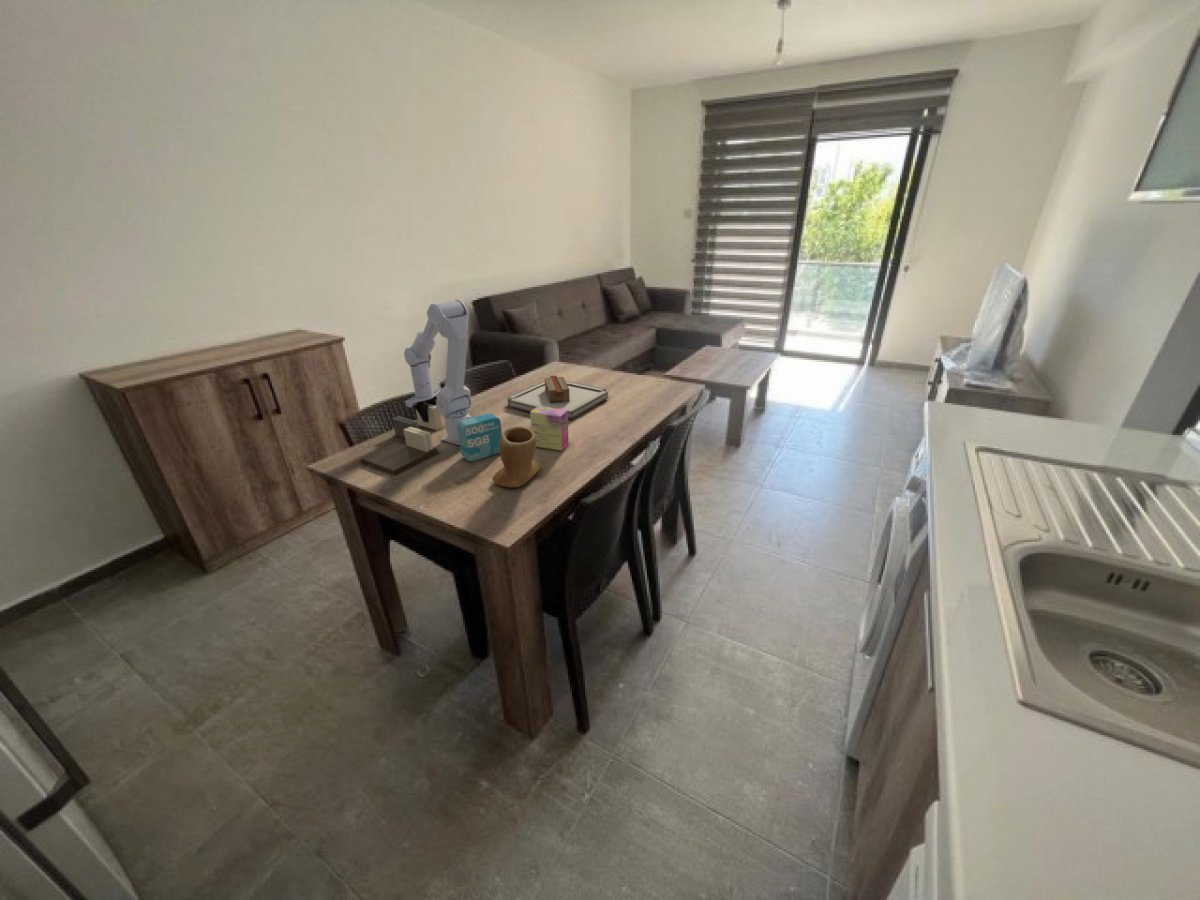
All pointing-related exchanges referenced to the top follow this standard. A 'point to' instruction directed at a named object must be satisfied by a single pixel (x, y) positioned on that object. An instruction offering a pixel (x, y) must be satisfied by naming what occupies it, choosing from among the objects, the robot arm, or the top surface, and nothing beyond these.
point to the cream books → (418, 439)
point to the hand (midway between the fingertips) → (429, 420)
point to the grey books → (403, 425)
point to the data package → (479, 436)
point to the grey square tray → (558, 396)
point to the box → (550, 427)
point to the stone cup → (517, 457)
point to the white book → (431, 418)
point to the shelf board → (396, 457)
